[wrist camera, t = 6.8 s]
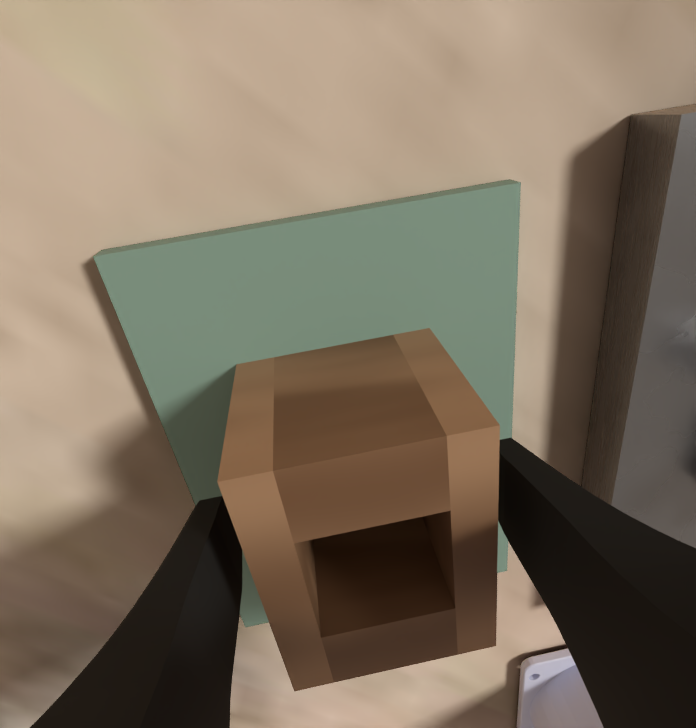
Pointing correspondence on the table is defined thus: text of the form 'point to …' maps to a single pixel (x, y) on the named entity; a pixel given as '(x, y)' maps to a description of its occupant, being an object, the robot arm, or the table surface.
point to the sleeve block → (365, 504)
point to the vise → (650, 335)
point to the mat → (317, 308)
